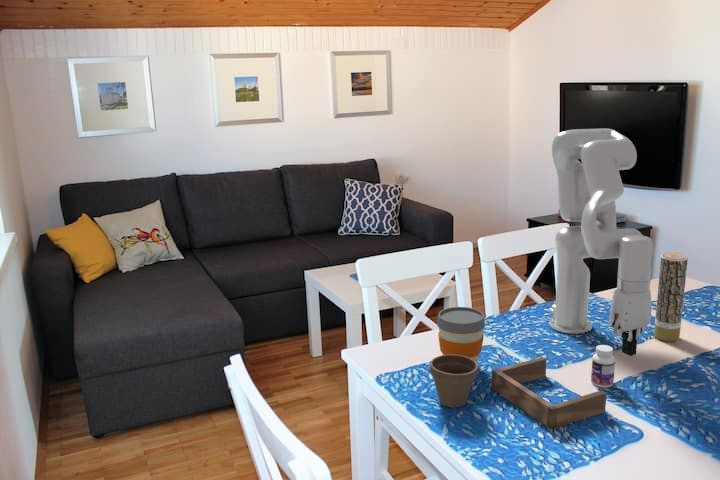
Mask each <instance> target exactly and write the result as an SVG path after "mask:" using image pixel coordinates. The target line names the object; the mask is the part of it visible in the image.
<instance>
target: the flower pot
mask: <svg viewBox="0 0 720 480" xmlns="http://www.w3.org/2000/svg"><path fill="white" fill-rule="evenodd" d="M478 372H479V363H478V364H477V362H476V361H474V360H473V359H471V358H469V357H466V356H462V355H452V354H450V355H438V356H436V357H434V358H432V359H431V360H430V363H429V373H430V375H431V376H432V377H433V379H434V384H435V389H436V393H437V396H438V400H439V403H440V404H441V405H442V406H445V407H448V408H460V407H463V406H465V405H466V404H467V401H468V399H469V396H470V393H471V389H472V386H473V382H474V380H476V379H477V377H478V375H479V373H478Z"/></svg>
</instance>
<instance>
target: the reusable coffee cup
mask: <svg viewBox="0 0 720 480" xmlns="http://www.w3.org/2000/svg"><path fill="white" fill-rule="evenodd" d="M485 320H486V319H485V314H484V313H483V312H482V311H481V310H479V309H476V308H472V307H467V306H466V307H465V306H454V307H446V308H444V309H442V310H440V311H438V315H437V322H436V323H437V324H436V325H437V327H438V330H439V331H438V334H437V335H438V342H439V343H438V344H439V349H440V352H441V354H442V355H450V354H452V355H462V356H466V357H469V358H471V359H473V360H474V361H476V362H477V364H478V365H479V357H480V354H481V353H482V349H483V343H484V337H485V336H484V333H483V332H484V329H485V327H486V322H485Z"/></svg>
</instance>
